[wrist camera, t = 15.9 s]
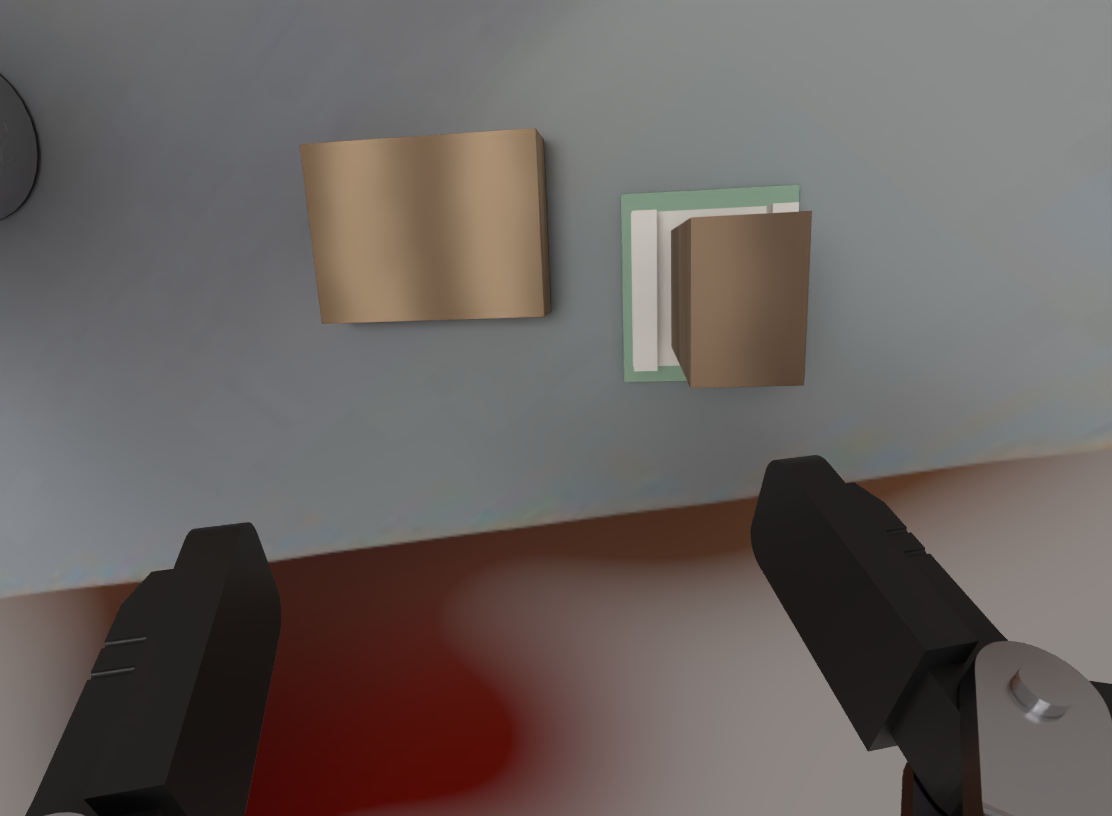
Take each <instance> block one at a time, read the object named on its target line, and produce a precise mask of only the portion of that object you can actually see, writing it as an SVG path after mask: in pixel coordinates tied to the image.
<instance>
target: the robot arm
mask: <svg viewBox="0 0 1112 816" xmlns="http://www.w3.org/2000/svg"><path fill="white" fill-rule="evenodd" d="M36 169H37V146H36V138H35V133H34V130H33V127H32V123H31V120H30V117H29V115H28V113H27V111H26V109H25V107H24V105H23V103H22V101H21V99H20V98H19V97H18V95H17V94H16V92H15V91H14V90H13V88H12V87H11V86H10V84H9V83H7V82H6V81H5V80H4V79H3V78H2V77H1V76H0V219H2V218H4V217H6V216H7V215H9V214H11V213H12V212H14V211H15V210H16V209H17V208H18V207H19V206H20V205H21V204H22V203H23V201H24V200H25V199H26V197H27V195H28V193H29V191H30V190H31V188H32V185H33V182H34V178H35V174H36ZM906 528H907V527H906V526H905V525H904V524H903V523H902V522H901V521H900V519H898V517H897V516H896V515H895V514H894V513H893V512H892V510H891V509H890V508H889V507H888V506H887V505H886V504H885V503H884V502H883V501H881V500H880V499H878V498H877V497H875V496H874V495H872V494H871V493H869V492H868V491H866V490H865V489H863V488H862V487H860V486H859V485H857V484H856V483H854V482H852V483H845V482H844V481H843V480H842V478H841V477H840V476H839V475H838V474H837V473H836V471H835V470H834V469H833V468H832V467H831V465H830V464H829V463H828V462H827V461H826V460H825V459H824V458H822V457H821V456H818V455H813V456H805V457H796V458H788V459H780V460H773V461H771V462H770V463H769V464H768V466H767V468H766V471H765V475H764V479H763V483H762V487H761V491H760V494H759V498H758V502H757V506H756V510H755V514H754V518H753V521H752V526H751V543H752V548H753V552H754V555H755V558H756V560H757V562H758V564H759V566H760V568H761V570H762V571H763V573H764V575H765V576H766V578H767V580H768V582H769V583H770V585H771V586H772V588H773V590H774V592H775V593H776V595H777V597H778V599H779V600H780V602H781V604H782V605H783V607H784V609H785V611H786V612H787V614H788V615H789V617H790V619H791V621H792V622H793V624H794V626H795V628H796V629H797V631H798V633H799V634H800V636H801V638H802V640H803V641H804V643H805V645H806V646H807V648H808V650H809V652H810V653H811V655H812V657H813V658H814V660H815V662H816V663H817V665H818V667H819V668H820V670H821V672H822V674H823V675H824V677H825V679H826V680H827V682H828V684H829V686H830V687H831V689H832V691H833V692H834V694H835V696H836V698H837V699H838V701H839V703H840V704H841V706H842V708H843V709H844V711H845V713H846V715H847V716H848V718H849V720H850V721H851V723H852V725H853V727H854V728H855V730H856V732H857V733H858V735H859V737H860V739H861V740H862V742H863V744H864V745H865V747H866V749H867V751H873V750H878V749H883V748H887V747H892V746H897V745H898V746H899V748H900V750H901V751H902V753H903V755H904V756H905V758H906V759H907V761H908V762H907V763H906V765H905V768H904V770H903V777H902V799H901V816H1112V684H1108V683H1101V682H1094V681H1088V680H1087V679H1086V678H1085V677H1084V676H1083V675H1082V674H1081V673H1080V672H1078V671H1077V670H1076V669H1075V668H1073V667H1072V666H1071V665H1069V664H1068V663H1067V662H1065V661H1063V660H1062V659H1060V658H1059V657H1057V656H1055V655H1053V654H1051V653H1049V652H1047V651H1045V650H1042V649H1040V648H1038V647H1035V646H1032V645H1028V644H1025V643H1020V642H1014V641H1008V640H1007V639H1006V638H1005V637H1004V636H1003V635H1002V634H1001V633H1000V632H999V631H998V630H997V628H996V627H995V626H994V625H993V624H992V623H991V622H990V621H989V619H987V617H986V616H985V615H984V614H983V613H982V612H981V611H980V609H979V608H978V607H977V606H976V605H975V604H974V603H973V601H972V600H971V599H970V598H969V597H968V596H967V595H966V594H965V592H963V590H962V589H961V588H960V587H959V586H958V585H957V584H956V582H955V581H954V580H953V579H952V578H951V577H950V576H949V575H948V573H947V572H946V571H945V570H944V569H943V568H942V567H941V565H940V564H939V563H938V562H937V561H936V560H935V559H934V558H933V557H932V555H931V554H926V552H925V547H924V546H923V545H922V544H921V543H920V542H919V541H918V540H917V539H916V537H915V536H914V535H913V534H912V533H908V532H907V530H906ZM280 629H281V603H280V597H279V592H278V589H277V586H276V583H275V581H274V578H273V575H272V573H271V570H270V567H269V564H268V561H267V559H266V556H265V553H264V551H263V548H262V545H261V542H260V540H259V537H258V534H257V532H256V529H255V528H254V526H253V525H252V524H251V523H249V522H246V523H238V524H230V525H221V526H213V527H205V528H197V529H193V530H191V531H190V532H189V533H188V535H187V536H186V538H185V541H184V543H183V546H182V548H181V551H180V553H179V556H178V558H177V561H176V564H175V566H174V569H169V570H162V571H154V572H151V573H150V574H149V575H148V576H147V577H146V579H145V580H144V581H143V582H142V583H141V584H140V585H139V586H138V587H137V588H136V589H135V591H134V592H133V593H132V594H131V595H130V596H129V597H128V598H127V599H126V600H125V601H124V602H123V604H122V605H121V607H120V609H119V611H118V613H117V615H116V618H115V620H114V622H113V624H112V627H111V629H110V631H109V633H108V635H107V638H106V640H105V643H106V645H105V648H103V649H101V651H100V653H99V655H98V658H97V660H96V662H95V664H94V667H93V669H92V671H91V674H92V677H91V680H87V682H86V684H85V686H84V689H83V691H82V693H81V696H80V697H79V700H78V702H77V704H76V707H75V709H74V711H73V713H72V715H71V718H70V720H69V722H68V724H67V727H66V729H65V731H64V733H63V735H62V738H61V740H60V742H59V744H58V746H57V748H56V751H55V753H54V755H53V758H52V760H51V762H50V764H49V766H48V769H47V771H46V773H45V775H44V777H43V780H42V782H41V784H40V786H39V788H38V791H37V793H36V795H35V797H34V800H33V802H32V804H31V806H30V807H29V809H28V811H27V813H26V815H25V816H245V811H246V806H247V801H248V795H249V791H250V786H251V780H252V775H253V770H254V765H255V760H256V754H257V749H258V744H259V739H260V733H261V728H262V724H263V718H264V713H265V708H266V703H267V697H268V692H269V687H270V682H271V677H272V672H273V666H274V661H275V656H276V651H277V646H278V641H279V636H280Z"/></svg>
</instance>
